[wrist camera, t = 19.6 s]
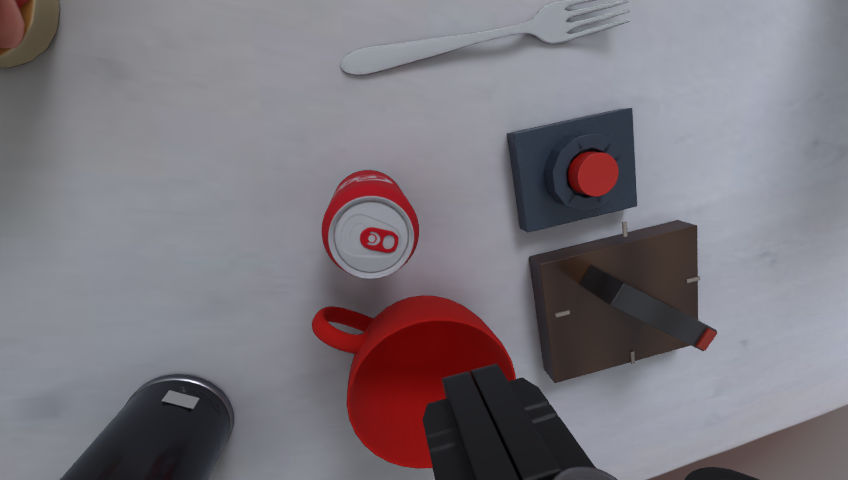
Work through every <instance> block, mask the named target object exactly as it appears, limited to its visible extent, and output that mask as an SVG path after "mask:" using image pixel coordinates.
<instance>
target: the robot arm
mask: <svg viewBox="0 0 848 480" xmlns="http://www.w3.org/2000/svg"><path fill="white" fill-rule="evenodd" d="M442 384H443V388H444V393H445V398H446V399H442V400H439V401H435V402H431V403H428V404H427V406H426V409H425V413H424V416H423V419H422V421H423V425H424V430H425V434H426V439H427V444H428V448H429V453H430V457H431V462H432V466H433V471H434V476H435V480H617V479H616V478H615V477H613V476H612V475H610V474H608V473H607V472H604V471H602V470H600V469H597V468H596V467H595V466H594V465H593V464H592V462H591V461H590V459H589V458H588V456H587V455H586V454H585V452H584V451H583V449H582V448H581V447H580V445H579V444H578V442H577V441H576V440H575V438H574V437H573V435H572V434H571V433H570V431H569V430H568V428H567V427H566V426H565V424H564V423H563V421H562V420H561V419H560V417H558V415H557V413H556V411H555V410H554V409H553V407H552V406H551V405H549V402H548V400H547V399H546V397H545V396H544V395H543V393H542V392H541V390H540V389H539V388H538V387H537V386H535V385H534V384H532V383H530V382H529V381H527V380H525V379H524V378H519V379H515V380H511V381H508V380H507V378H506V377H505V375H504V373H503V372H502V370H501V369H500V367H499V365H498V364H493V365H489V366H485V367H481V368H478V369H474V370H470V373H469V371H467V372H463V373H459V374H456V375H452V376H448V377H444V378H442ZM233 423H234V414H233V409H232V406H231V404H230V402H229V400H228V398H227V397H226V396H225V394H224V393H223V392H222V391H221V390H220V389H219V388H217V387H216V386H215V385H213V384H212V383H210V382H208V381H206V380H203V379H201V378H198V377H194V376H189V375H168V376H163V377H159V378H156V379H154V380H151V381H149V382H147V383H146V384H144V385H143V386H141V387H140V388H139V389H138V390H137V391H136V392H135V393H134V394H133V395H132V396H131V398H130V399H129V400H128V401H127V403H126V405H125V406H124V407H123V409H122V410H121V411H120V412H119V413H118V414H117V415H116V417H115V418H114V419H113V420H112V421H111V422H110V423H109V424H108V425H107V426H106V428H105V429H104V430H103V431H102V432H101V433H100V434H99V436H98V437H97V438H96V439H95V440H94V441H93V442H92V444H91V445H90V446H89V447H88V448H87V449H86V450H85V452H84V453H83V454H82V455H81V456H80V457H79V458H78V460H77V461H76V462H75V463H74V464H73V465H72V466H71V468H70V469H69V470H68V471H67V472H66V473H65V474H64V476H63V477H62V478H61V479H60V480H209V478H210V475H211V473H212V471H213V469H214V466H215V464H216V462H217V460H218V458H219V455H220V453H221V451H222V449H223V446H224V445H225V443H226V442H227V440H228V438H229V436H230V433H231V431H232V428H233ZM685 480H759V479H756V478H753V477H751V476H748V475H745V474H742V473H739V472H736V471H733V470H729V469H724V468H717V467H706V468H701V469H698V470H695V471H693V472H692V473H690V474H689V475H688V476H687V477H686V478H685Z"/></svg>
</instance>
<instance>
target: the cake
mask: <svg viewBox="0 0 848 480" xmlns="http://www.w3.org/2000/svg"><path fill="white" fill-rule="evenodd" d="M59 12H60V7H59V2H58V0H0V68H11V67H14V66H17V65H21V64H24V63H27V62H31V61H32V60H33V59H35V58H36V57H37V56H38V55H40V54H41V53H42V52H44V51H45V50H46V49H47V48H48V46H49V44H50V42H51V41H52V39H53V37H54V35H55V33H56V32H57V27H58V19H59Z"/></svg>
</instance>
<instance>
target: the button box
mask: <svg viewBox="0 0 848 480" xmlns="http://www.w3.org/2000/svg"><path fill="white" fill-rule="evenodd" d="M507 135H508V142H509V150H510V157H511V164H512V172H513V179H514V186H515V194H516V201H517V208H518V216H519V223H520V229H522V230H524V231H525V232H531V231H536V230H540V229H544V228H548V227H552V226H556V225H561V224H565V223H569V222H573V221H577V220H581V219H586V218H590V217H594V216H598V215H602V214H606V213H611V212H615V211H619V210H623V209H627V208H631V207H636V206H637V195H636V175H635V155H634V135H633V116H632V108H626V109H618V110H613V111H609V112H604V113H600V114H595V115H590V116H586V117H581V118H576V119H572V120H567V121H562V122H558V123H553V124H548V125H544V126H539V127H534V128H530V129H525V130H521V131H516V132H511V133H508V134H507ZM585 152H601V153H606V154H609V155H610V156H612V157H613V158H614V159H615V161H616V163H617V165H618V178H617V181H616V183H615V185H614V187H613V188H612V189H611V190H610V191H609V192H608V193H606V194H604V195H602V196H597V197H594V196H589V195H585V194H582V193H578V192H576V191H575V190H574V189H573V188H572V187H571V186H570V184H569V181H568V170H569V166H570V164H571V163H572V161H573V160H574V159H575V158H576V157H577V156H578V155H580V154H582V153H585Z"/></svg>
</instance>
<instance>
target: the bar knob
mask: <svg viewBox="0 0 848 480" xmlns="http://www.w3.org/2000/svg"><path fill="white" fill-rule="evenodd" d="M580 285H581V286H582V287H584V288H585V289H587V290H588V291H590V292H591V293H593V294H594V295H595V296H597V297H598V298H600V299H601V300H603V301H604V302H606V303H607V304H609V305H610V306H612V307H614V308H616V309H618V310H620V311H622V312H624V313H626V314H628V315H630V316H632V317H634V318H636V319H638V320H641V321H643V322H645V323H647V324H649V325H651V326H653V327H655V328H657V329H659V330H661V331H663V332H665V333H667V334H669V335H671V336H673V337H675V338H677V339H679V340H681V341H683V342H685V343H687V344H689V345H691V346H693V347H695V348H698V349H700V350H702V351H704V350H706V349H707V347H708V346H709V345H710V343H711V342H712V340H713V339H714V337H715V336H716V334H717V331H716V330H715V329H713V328H711V327H710V326H708V325H706V324H704V323H702V322H700V321H699V320H697V319H695V318H693V317H691V316H690V315H688V314H686V313H684V312H682V311H680V310H679V309H677V308H675V307H673V306H671V305H669V304H667V303H665V302H663V301H661V300H660V299H658V298H656V297H654V296H652V295H650V294H648V293H646V292H644V291H642V290H640V289H638V288H636V287H634V286H632V285H630V284H629V283H627V282H625V281H623V280H621V279H619V278H617V277H615V276H613V275H611V274H609V273H607V272H605V271H603V270H601V269H599V268H598V267H596V266H594V265H591V266H590V267H589V269H588V270H587V272H586V274H585V275H584V277H583V279H582V280H581V282H580Z"/></svg>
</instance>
